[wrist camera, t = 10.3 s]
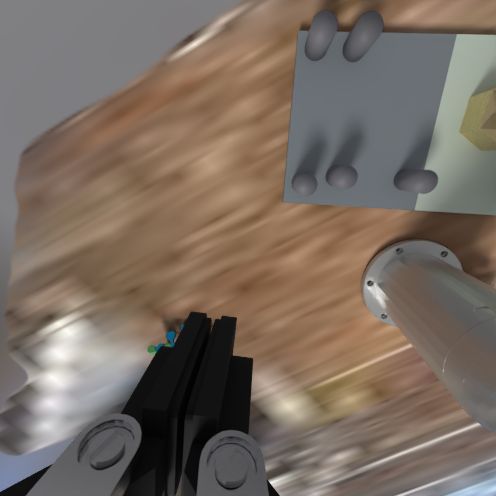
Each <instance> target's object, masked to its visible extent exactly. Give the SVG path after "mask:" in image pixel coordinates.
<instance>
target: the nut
mask: <svg viewBox="0 0 496 496" xmlns="http://www.w3.org/2000/svg"><path fill="white" fill-rule="evenodd" d="M459 132H460V133H461V134H462V135H463V136H464V137H465V138H467V139H468V140H469V141H470V142H471V143H472V144H474V145H475V146H476V147H477V148H478V149H480V150H481V151H490V150H496V86H493V87H491V88H489V89H487V90H485V91H482V92H480V93H478V94H476V95H474V96H472V97H470V98H469V102H468V105H467V108H466V111H465V115H464V118H463V121H462V124H461V128H460V131H459Z"/></svg>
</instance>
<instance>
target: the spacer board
mask: <svg viewBox="0 0 496 496" xmlns="http://www.w3.org/2000/svg"><path fill="white" fill-rule="evenodd" d="M383 26H384V23H383V19H382V17H381V15H380V14H379V13H377V12H375V11H369V12H366V13H364V14H363V15H362V16H361V17H360V18H359V20H358V21H357V23H356V25H355V26H354V28H353V30H352V31H351V32H337V28H338V21H337V18H336V16H335V14H334V13H333V12H331V11H328V10H324V11H321V12H319V13H317V14H316V15H315V17H314V18H313V20H312V23H311V26H310V30H309V31H298V36H297V48H296V59H295V70H294V81H293V92H292V103H291V114H290V125H289V137H288V148H287V159H286V170H285V181H284V192H283V202H287V203H304V204H320V205H336V206H352V207H368V208H385V209H401V210H417V211H433V212H450V213H466V214H482V215H496V150H490V151H481V150H480V149H478V148H477V147H476V146H475V145H474V144H472V143H471V142H470V141H469V140H468V139H467V138H465V137H464V136H463V135H462V134H461V133H460V132H459V131H460V128H461V124H462V121H463V118H464V115H465V111H466V108H467V105H468V102H469V98H470V97H472V96H474V95H476V94H478V93H480V92H482V91H485V90H487V89H489V88H491V87H493V86H496V35H473V34H428V33H382V31H383Z"/></svg>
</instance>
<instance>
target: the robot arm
mask: <svg viewBox="0 0 496 496" xmlns="http://www.w3.org/2000/svg"><path fill="white" fill-rule="evenodd" d="M396 249H398V250H397V251H396ZM368 281H369V282H368ZM361 292H362V297H363V300H364V302H365V304H366V306H367V307H368V309H369V310H370V312H371V313H372V314H373V315H374V316H375V317H376V318H378V319H379V320H380V321H382V322H384V323H386V324H389V325H392V326H396V327H398V328H399V329H400V331H401V332H402V333H403V334H404V336H405V337H406V338H407V339H408V341H409V342H410V343H411V344H412V346H413V347H414V348H415V349H416V351H417V352H418V353H419V354H420V356H421V357H422V358H423V360H424V361H425V362H426V363H427V365H428V366H429V367H430V368H431V370H432V371H433V372H434V373H435V375H436V376H437V377H438V378H439V380H440V381H441V382H442V383H443V385H444V386H445V387H446V388H447V390H448V391H449V392H450V393H451V395H452V396H453V397H454V398H455V400H456V401H457V402H458V403H459V405H460V406H461V407H462V408H463V409H464V410H465V411H466V412H467V413H468V414H469V415H470V416H471V417H472V418H473V419H474V420H475V421H477V422H478V423H479V424H481V425H482V426H484V427H485V428H487V429H488V430H490V431H491V432H493V433H495V434H496V289H495V288H494V285H493V284H490V283H484V282H482V281H480V280H478V279H476V278H475V277H473V276H471V275H469V274H467V273H465V272H464V271H463V269H462V266H461V263H460V261H459V260H458V258H457V257H456V256H455V255H454V254H453V253H452V252H451V251H450V250H449V249H447V248H446V247H444V246H442V245H440V244H438V243H436V242H433V241H429V240H423V239H412V240H405V241H401V242H397V243H395V244H393V245H391V246H388V247H387V248H385V249H384V250H382V251H381V252H379V253H378V254H377V255H376V256H375V257H374V258H373V259H372V260H371V262H370V263H369V265H368V266H367V268H366V270H365V272H364V274H363V278H362V282H361ZM236 321H237V318H236V317H229V316H222V317H221V319H215V322H214V325H213V328H212V331H211V318H207V314H206V313H199V312H191V313H190V314H189V316H188V318H187V320H186V322H185V324H184V326H183V328H182V330H181V332H180V334H179V336H178V338H177V340H176V342H175V344H174V346H173V347H167V346H161V347H160V348H159V349H158V351H157V352H156V354H155V356H154V358H153V359H152V361H151V363H150V364H149V366H148V368H147V370H146V371H145V373H144V375H143V376H142V378H141V380H140V382H139V383H138V385H137V387H136V388H135V390H134V392H133V394H132V395H131V397H130V399H129V401H128V402H127V404H126V406H125V407H124V409H123V411H122V413H121V414H112V415H107V416H105V417H102V418H99V419H97V420H96V421H94V422H93V423H91V424H89V425H88V426H87V427H86V428H85V429H84V430H83V431H82V432H80V433H79V435H78V436H77V437H76V438H75V439H74V440H73V442H72V443H71V444H70V445H69V446H68V447H67V449H66V450H65V451H64V452H63V453H62V454H61V455H60V457H59V458H58V459H57V460H56V461H55V462H54V463H53V464H52V465H50V466H48V467H46V468H44V469H42V470H41V471H39V472H37V473H35V474H33V475H31V476H30V477H27V478H26V479H24V480H22V481H20V482H18V483H16V484H14V485H13V486H11V487H9V488H7V489H5V490H3V491H1V492H0V496H168V495H170V496H175V495H176V493H177V489H178V486H179V482H180V478H181V475H182V485H181V496H279V494H278V493H277V492H276V490H275V489H274V488H273V487H272V485H271V484H270V483H269V481H268V480H267V478H266V470H265V463H264V458H263V455H262V451H261V449H260V448H259V446H258V444H257V443H256V441H254V440H253V439H252V438H251V437H250V436H249V435H248V432H249V416H250V400H251V384H252V369H253V358H247V357H240V356H233V347H234V339H235V330H236ZM210 333H211V335H210Z"/></svg>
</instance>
